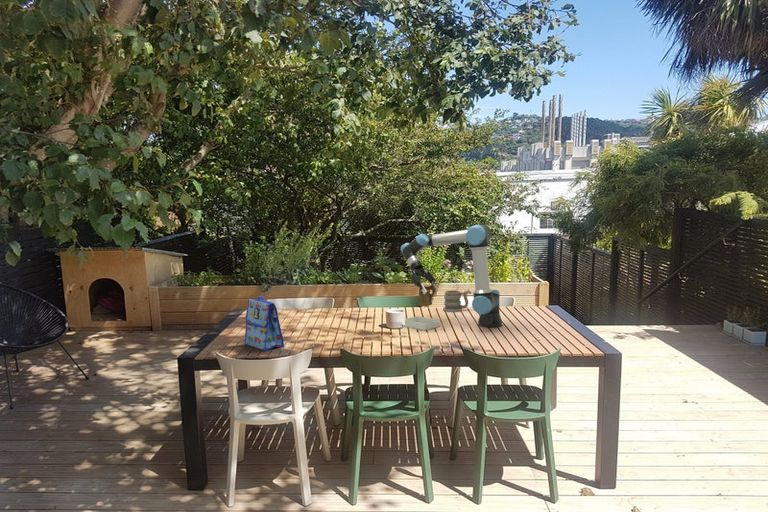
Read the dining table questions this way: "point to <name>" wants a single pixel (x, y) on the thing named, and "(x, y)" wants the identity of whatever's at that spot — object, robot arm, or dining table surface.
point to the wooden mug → (426, 295)
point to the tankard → (455, 301)
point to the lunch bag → (262, 325)
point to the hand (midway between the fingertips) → (431, 292)
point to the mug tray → (421, 323)
